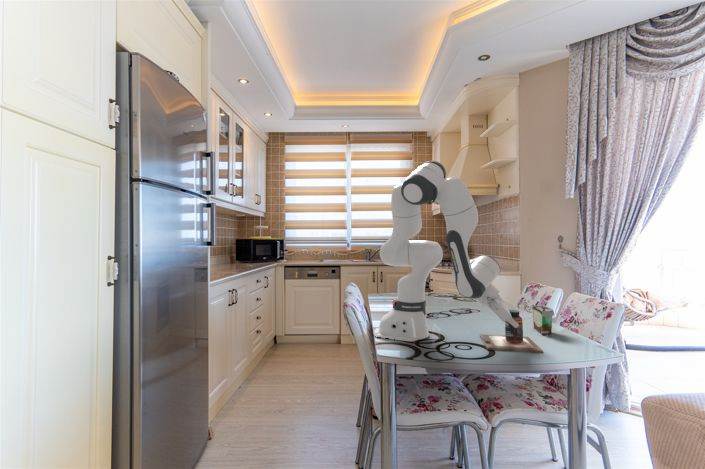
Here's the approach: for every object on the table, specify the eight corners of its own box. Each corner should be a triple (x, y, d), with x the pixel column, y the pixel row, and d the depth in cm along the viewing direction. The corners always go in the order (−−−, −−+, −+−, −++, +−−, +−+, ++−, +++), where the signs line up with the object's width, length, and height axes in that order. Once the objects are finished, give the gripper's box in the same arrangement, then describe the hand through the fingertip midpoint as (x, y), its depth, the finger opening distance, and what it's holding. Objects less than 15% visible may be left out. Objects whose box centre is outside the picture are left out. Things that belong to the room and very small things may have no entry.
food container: (560, 337, 128) (559, 311, 129) (543, 336, 130) (542, 311, 130) (547, 328, 140) (547, 305, 141) (532, 328, 142) (532, 305, 142)
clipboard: (487, 349, 115) (487, 345, 115) (479, 336, 130) (479, 332, 130) (543, 352, 111) (543, 348, 111) (528, 338, 126) (528, 335, 126)
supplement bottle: (525, 340, 120) (524, 310, 120) (520, 344, 116) (519, 313, 116) (508, 337, 124) (507, 308, 125) (503, 341, 120) (502, 311, 120)
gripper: (494, 294, 113) (526, 324, 110) (492, 286, 132) (519, 311, 129) (481, 306, 115) (512, 336, 111) (480, 296, 134) (507, 322, 130)
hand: (516, 323), depth 120 cm, fingers open, 8 cm apart
